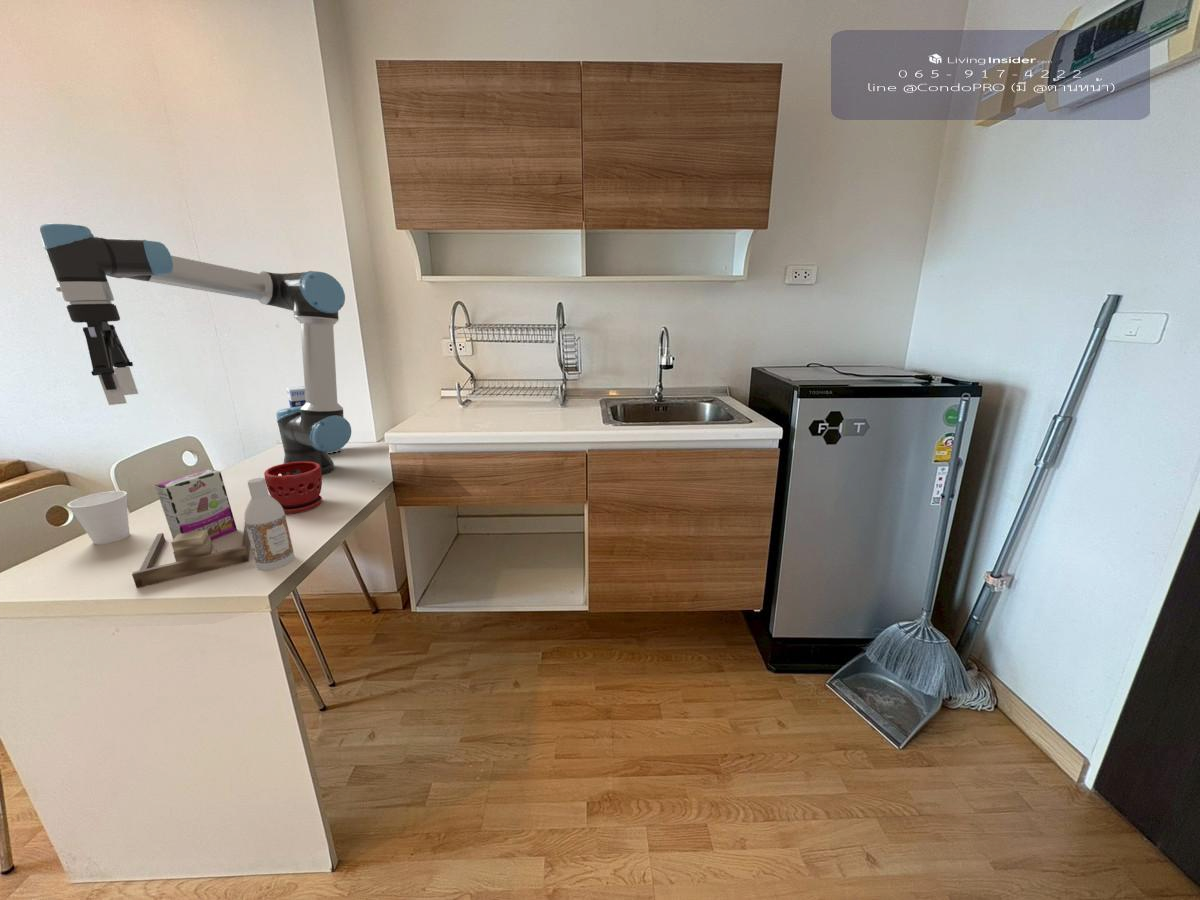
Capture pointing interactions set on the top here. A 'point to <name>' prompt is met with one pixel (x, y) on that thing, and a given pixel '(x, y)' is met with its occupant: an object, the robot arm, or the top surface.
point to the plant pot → (295, 486)
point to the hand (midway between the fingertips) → (124, 399)
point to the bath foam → (267, 528)
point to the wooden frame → (187, 563)
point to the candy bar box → (197, 504)
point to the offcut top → (190, 540)
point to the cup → (103, 516)
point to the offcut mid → (194, 551)
